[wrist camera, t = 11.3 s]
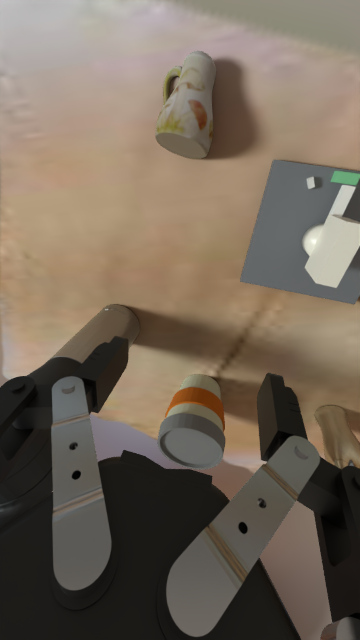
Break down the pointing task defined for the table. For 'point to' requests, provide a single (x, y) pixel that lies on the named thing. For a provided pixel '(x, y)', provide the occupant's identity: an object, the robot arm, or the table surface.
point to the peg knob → (332, 242)
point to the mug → (188, 108)
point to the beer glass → (338, 437)
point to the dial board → (299, 229)
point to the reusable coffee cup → (194, 425)
